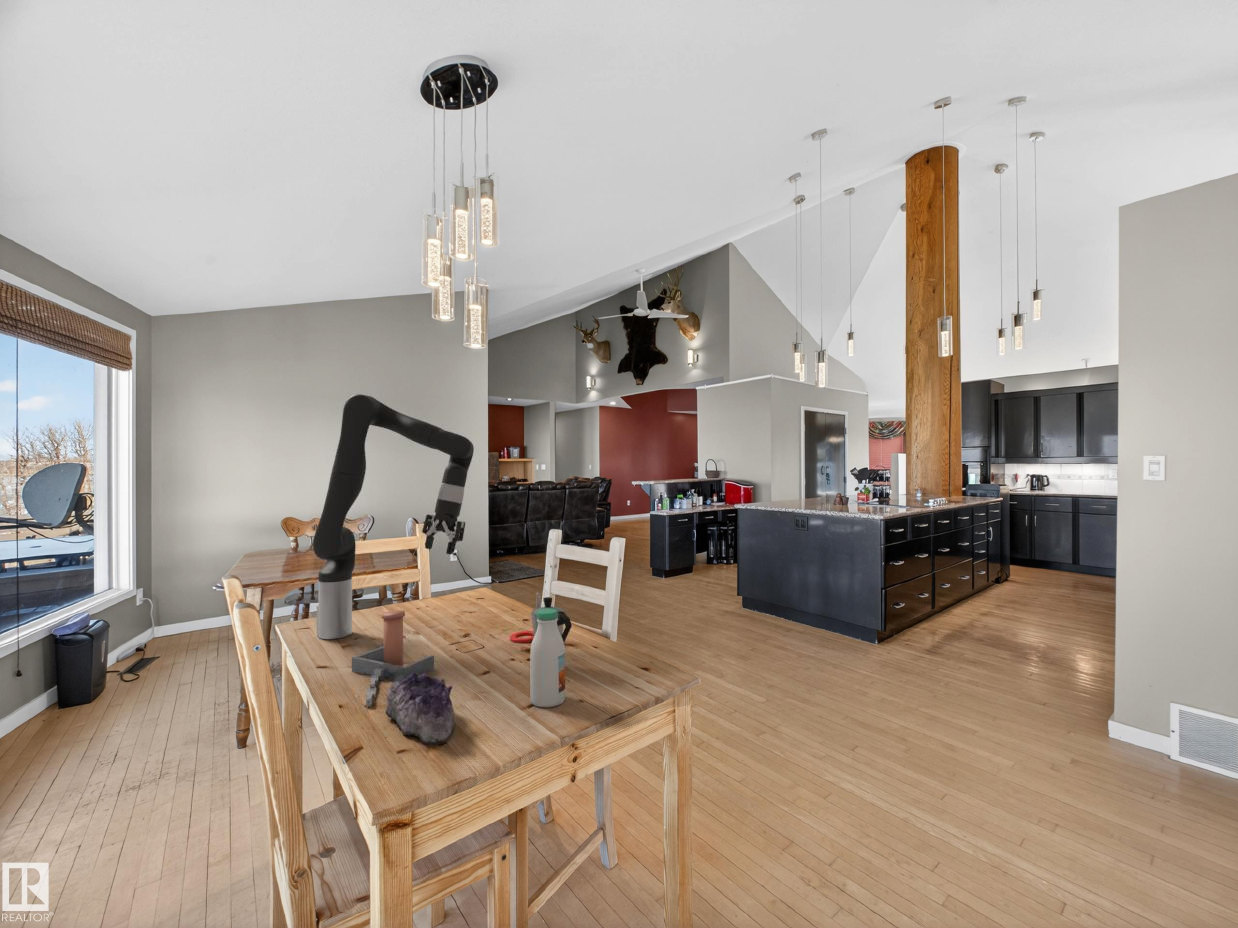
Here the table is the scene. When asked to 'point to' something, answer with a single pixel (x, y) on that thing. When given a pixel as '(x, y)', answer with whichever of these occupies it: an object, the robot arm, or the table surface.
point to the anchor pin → (393, 636)
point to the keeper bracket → (389, 666)
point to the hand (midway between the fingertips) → (438, 551)
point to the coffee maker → (561, 620)
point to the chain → (371, 690)
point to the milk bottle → (547, 662)
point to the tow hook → (521, 640)
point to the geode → (422, 708)
